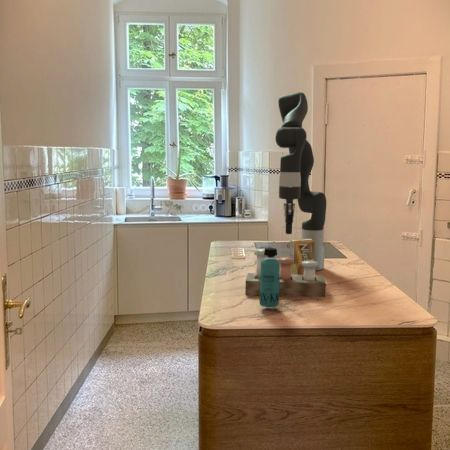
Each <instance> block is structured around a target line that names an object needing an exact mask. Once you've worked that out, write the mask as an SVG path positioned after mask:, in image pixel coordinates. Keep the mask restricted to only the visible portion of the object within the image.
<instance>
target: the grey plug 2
mask: <svg viewBox="0 0 450 450" xmlns="http://www.w3.org/2000/svg"><path fill="white" fill-rule="evenodd" d="M317 266H318V262H316V261H302V267H304V280H313V281H315V275H316V270H315V268H316V267H317Z"/></svg>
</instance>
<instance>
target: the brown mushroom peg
mask: <svg viewBox="0 0 450 450" xmlns="http://www.w3.org/2000/svg"><path fill="white" fill-rule="evenodd" d="M277 260H278V261H279V262H280V280H291V264H293V263H294V259H293V258H290V256H289V257H287V256H285V257H282V256H281V257H277Z"/></svg>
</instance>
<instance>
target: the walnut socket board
mask: <svg viewBox="0 0 450 450" xmlns="http://www.w3.org/2000/svg"><path fill="white" fill-rule="evenodd" d="M259 289H260V279H256V272H254V273H253V272H252V273H251V272H250V273H249V272H248V273H247V275H246V279H245V291H244V292H245V293H244V295H252V296H260V290H259ZM326 295H327V282H326V279H325V276H324V274H323V275H322V274H315V281H313V280H304V275H296V274H291V280H280V286H279V297H280V296H281V297H306V298H307V297H308V298H326V297H327V296H326Z"/></svg>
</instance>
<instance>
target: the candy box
mask: <svg viewBox="0 0 450 450" xmlns="http://www.w3.org/2000/svg"><path fill="white" fill-rule="evenodd" d="M289 242H290V243H289V244H290V245H289V246H290V247H289V248H290V249H289V258H293V259H294V263H293V264H291V274H296V275H304V267H302V261H314V240H312V239H302V238H301V239H290V241H289Z"/></svg>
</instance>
